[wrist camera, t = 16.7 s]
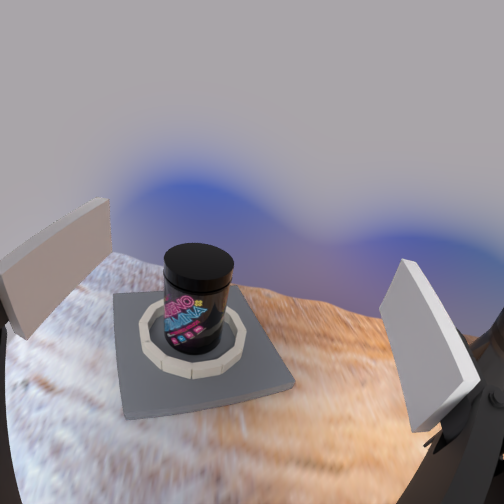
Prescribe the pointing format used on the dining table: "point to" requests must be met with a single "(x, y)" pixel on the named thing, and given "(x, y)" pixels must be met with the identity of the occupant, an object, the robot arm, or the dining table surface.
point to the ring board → (191, 360)
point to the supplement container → (195, 296)
